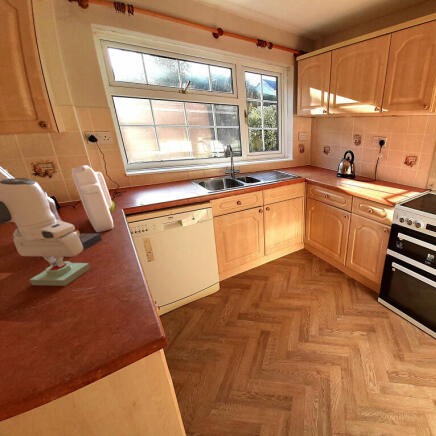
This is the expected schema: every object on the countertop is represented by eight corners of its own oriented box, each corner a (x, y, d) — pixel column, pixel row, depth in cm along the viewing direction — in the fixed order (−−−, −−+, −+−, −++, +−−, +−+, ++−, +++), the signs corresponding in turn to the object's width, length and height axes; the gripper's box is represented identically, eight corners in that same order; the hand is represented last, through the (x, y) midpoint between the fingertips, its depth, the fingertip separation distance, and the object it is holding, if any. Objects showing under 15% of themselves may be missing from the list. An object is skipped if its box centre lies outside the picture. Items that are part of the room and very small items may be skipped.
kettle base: (32, 285, 80) (26, 275, 78) (60, 267, 89) (56, 258, 88) (65, 285, 79) (60, 275, 77) (91, 268, 88) (87, 258, 87)
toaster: (124, 228, 121) (104, 168, 109) (96, 236, 114) (72, 172, 102) (113, 215, 139) (94, 162, 128) (88, 221, 132) (67, 165, 120)
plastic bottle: (48, 231, 121) (30, 192, 113) (66, 227, 125) (50, 189, 117) (47, 235, 116) (29, 195, 109) (66, 231, 120) (49, 192, 113)
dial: (70, 241, 102) (67, 234, 101) (67, 241, 102) (64, 234, 101) (80, 236, 107) (78, 229, 106) (78, 236, 107) (75, 229, 106)
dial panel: (49, 251, 101) (46, 244, 100) (73, 239, 111) (70, 233, 110) (80, 251, 100) (77, 245, 99) (101, 239, 110) (99, 233, 109)
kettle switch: (50, 273, 82) (47, 269, 81) (60, 267, 85) (58, 263, 84) (59, 273, 81) (57, 269, 81) (69, 267, 85) (67, 263, 84)
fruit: (94, 218, 135) (88, 201, 131) (101, 213, 143) (95, 196, 140) (113, 216, 138) (107, 199, 134) (118, 210, 146) (113, 194, 142)
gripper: (-1, 233, 75) (20, 271, 80) (60, 233, 73) (77, 271, 79) (22, 225, 81) (40, 260, 86) (78, 224, 79) (93, 261, 85)
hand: (58, 265), depth 82 cm, fingers closed, pressing on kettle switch
